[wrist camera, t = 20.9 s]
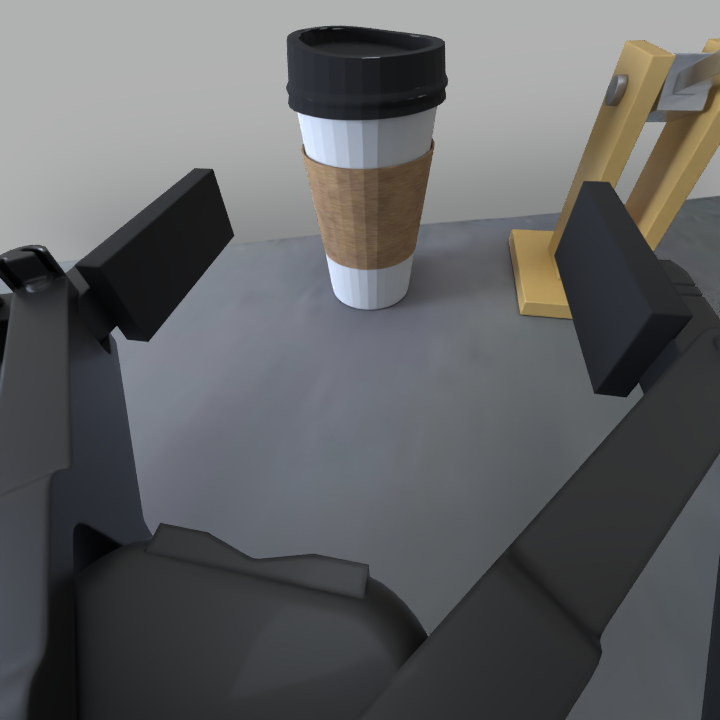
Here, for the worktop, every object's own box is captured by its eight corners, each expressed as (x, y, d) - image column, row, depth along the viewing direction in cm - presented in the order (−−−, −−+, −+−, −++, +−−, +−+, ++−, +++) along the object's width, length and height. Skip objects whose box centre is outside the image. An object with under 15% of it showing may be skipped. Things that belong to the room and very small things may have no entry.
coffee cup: (348, 248, 33) (332, 20, 22) (439, 269, 30) (474, 20, 19) (296, 303, 28) (240, 43, 17) (400, 335, 25) (416, 49, 14)
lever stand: (677, 328, 24) (892, 65, 14) (520, 315, 26) (611, 68, 16) (632, 248, 31) (755, 29, 21) (508, 241, 32) (566, 34, 22)
